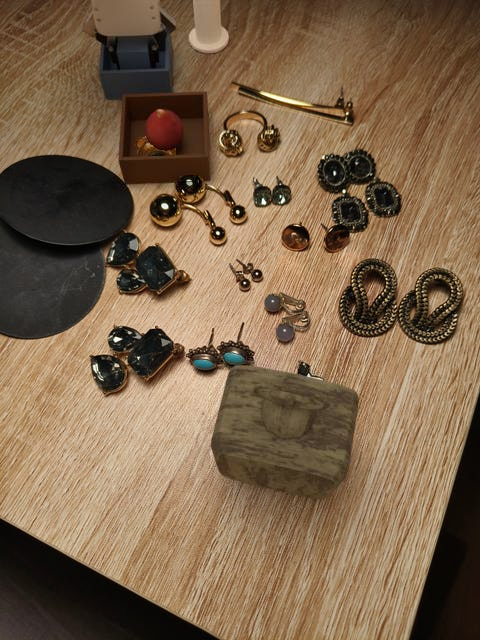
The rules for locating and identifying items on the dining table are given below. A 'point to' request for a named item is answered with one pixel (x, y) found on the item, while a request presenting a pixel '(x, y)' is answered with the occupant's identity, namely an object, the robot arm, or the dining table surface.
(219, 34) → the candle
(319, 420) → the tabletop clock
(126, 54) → the blue block
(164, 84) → the blue bin
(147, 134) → the onion
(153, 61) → the robot arm
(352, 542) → the dining table surface
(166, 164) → the brown bin
